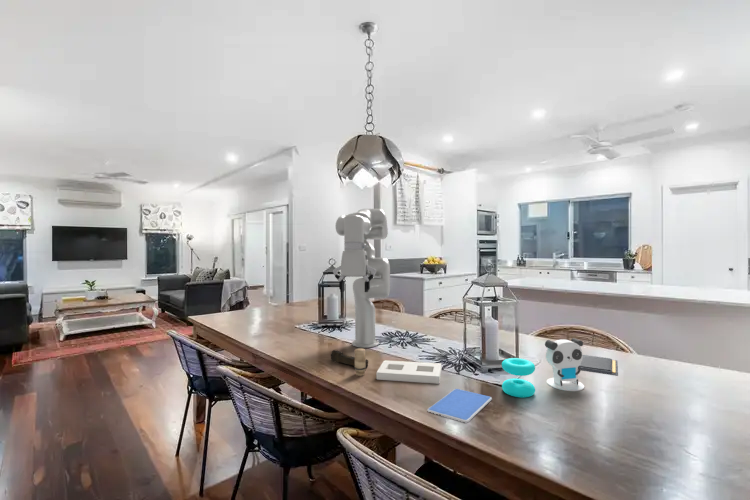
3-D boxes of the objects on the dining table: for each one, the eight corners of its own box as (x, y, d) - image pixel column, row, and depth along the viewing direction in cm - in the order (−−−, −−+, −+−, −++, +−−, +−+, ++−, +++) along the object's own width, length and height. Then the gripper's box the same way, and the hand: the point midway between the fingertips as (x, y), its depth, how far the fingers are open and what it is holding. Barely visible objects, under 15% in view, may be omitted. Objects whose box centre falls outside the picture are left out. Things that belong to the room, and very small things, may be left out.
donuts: (502, 355, 128) (534, 358, 124) (502, 385, 128) (534, 388, 125) (501, 364, 119) (535, 368, 115) (501, 396, 119) (536, 400, 115)
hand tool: (369, 368, 147) (369, 356, 147) (361, 371, 144) (361, 359, 144) (336, 359, 160) (335, 348, 160) (328, 361, 157) (328, 350, 157)
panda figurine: (558, 392, 121) (558, 345, 121) (538, 379, 133) (537, 336, 132) (592, 389, 123) (592, 343, 123) (569, 377, 134) (569, 335, 134)
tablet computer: (467, 425, 101) (467, 420, 101) (425, 413, 109) (425, 408, 109) (493, 401, 117) (493, 396, 117) (455, 391, 124) (455, 387, 124)
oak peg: (356, 372, 143) (356, 348, 143) (367, 372, 142) (366, 348, 142) (353, 375, 139) (353, 351, 139) (364, 376, 138) (363, 351, 138)
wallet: (576, 352, 160) (619, 358, 152) (576, 356, 160) (619, 362, 152) (569, 365, 144) (617, 372, 135) (569, 370, 144) (617, 377, 135)
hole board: (384, 366, 149) (384, 360, 148) (441, 370, 144) (441, 363, 144) (376, 379, 135) (376, 372, 135) (439, 383, 130) (439, 376, 130)
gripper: (378, 247, 149) (378, 291, 148) (336, 247, 153) (336, 290, 152) (373, 246, 141) (374, 292, 141) (329, 247, 145) (329, 292, 145)
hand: (354, 291), depth 147 cm, fingers open, 9 cm apart
